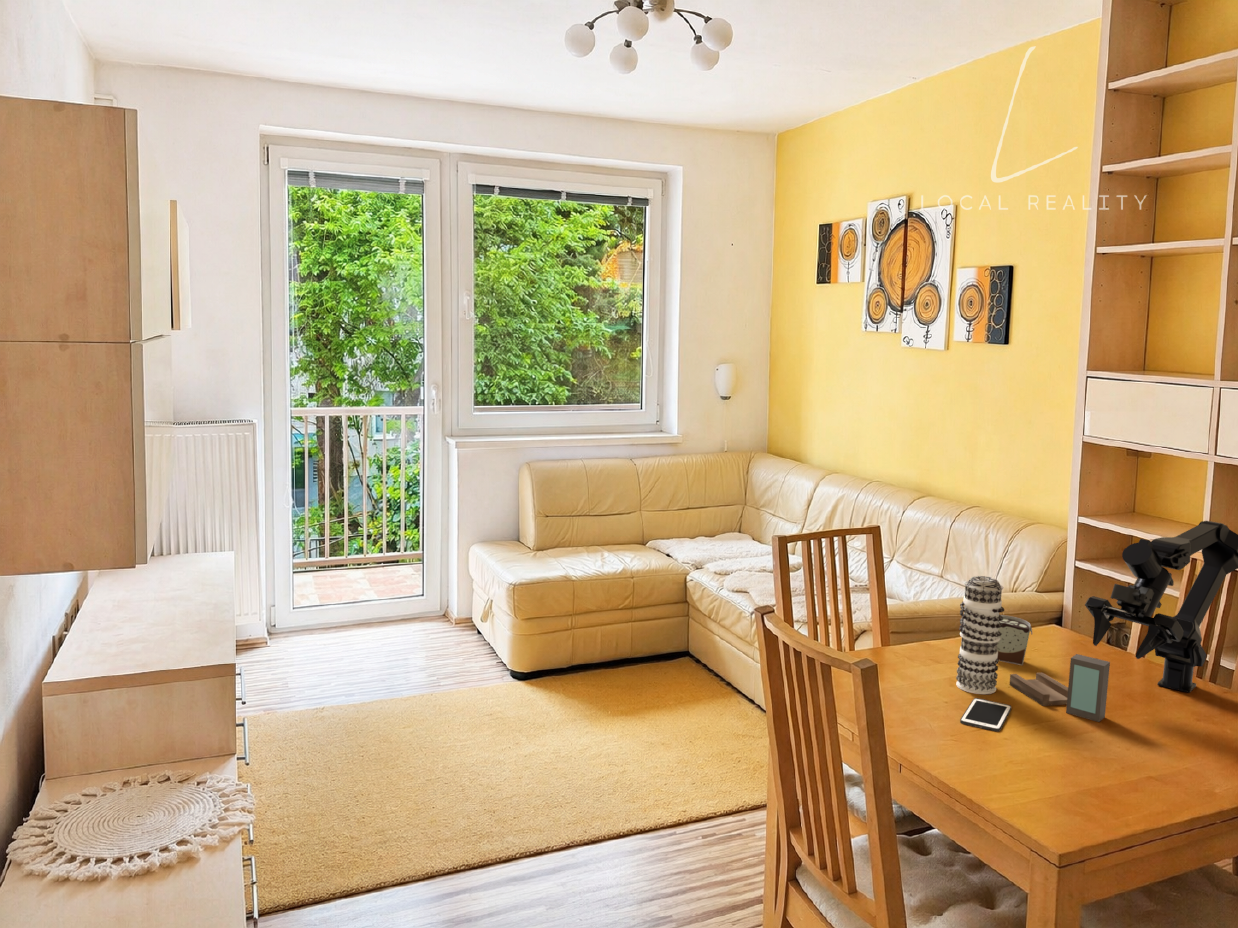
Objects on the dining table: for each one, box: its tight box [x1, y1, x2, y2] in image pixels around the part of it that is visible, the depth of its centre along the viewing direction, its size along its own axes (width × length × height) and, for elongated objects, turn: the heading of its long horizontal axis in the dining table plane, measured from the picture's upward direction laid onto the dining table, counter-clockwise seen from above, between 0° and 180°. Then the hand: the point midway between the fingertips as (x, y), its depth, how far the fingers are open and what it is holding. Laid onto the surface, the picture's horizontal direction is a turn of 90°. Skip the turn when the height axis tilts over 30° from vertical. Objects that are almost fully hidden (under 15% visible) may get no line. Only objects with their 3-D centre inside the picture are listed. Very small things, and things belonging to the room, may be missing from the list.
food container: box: [997, 614, 1033, 667], centre depth 228 cm, size 12×6×10 cm, turn 58°
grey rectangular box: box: [1065, 653, 1111, 723], centre depth 194 cm, size 4×6×12 cm, turn 45°
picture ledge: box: [1009, 672, 1068, 707], centre depth 206 cm, size 8×12×2 cm, turn 11°
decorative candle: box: [955, 575, 1005, 695], centre depth 208 cm, size 9×9×25 cm
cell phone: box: [959, 697, 1012, 733], centre depth 194 cm, size 8×15×1 cm, turn 148°
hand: (1115, 651), depth 196 cm, fingers open, 9 cm apart
